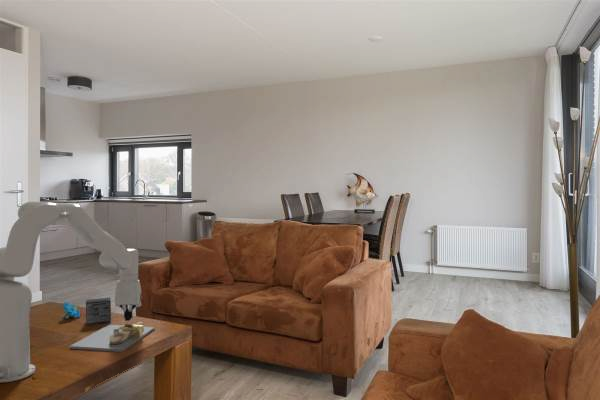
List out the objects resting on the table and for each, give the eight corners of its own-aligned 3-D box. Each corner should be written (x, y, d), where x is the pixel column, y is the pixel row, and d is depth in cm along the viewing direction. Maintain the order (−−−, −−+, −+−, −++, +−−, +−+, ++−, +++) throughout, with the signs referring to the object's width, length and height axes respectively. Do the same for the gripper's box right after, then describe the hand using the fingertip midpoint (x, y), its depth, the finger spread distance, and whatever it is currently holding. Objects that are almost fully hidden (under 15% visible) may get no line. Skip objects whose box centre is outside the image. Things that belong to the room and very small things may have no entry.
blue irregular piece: (76, 317, 201) (61, 302, 201) (66, 326, 200) (51, 311, 200) (85, 313, 212) (71, 299, 212) (76, 322, 211) (61, 308, 211)
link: (118, 344, 168) (117, 332, 168) (106, 343, 169) (106, 331, 169) (146, 328, 188) (146, 316, 188) (136, 327, 189) (136, 316, 189)
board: (121, 352, 164) (121, 349, 164) (69, 348, 167) (69, 345, 167) (154, 329, 190) (154, 327, 190) (108, 326, 193) (108, 324, 193)
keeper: (138, 338, 176) (138, 328, 176) (119, 337, 177) (119, 327, 177) (143, 335, 180) (143, 325, 180) (124, 333, 181) (124, 324, 181)
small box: (111, 318, 205) (111, 296, 205) (111, 322, 199) (110, 300, 199) (86, 321, 201) (86, 299, 201) (85, 325, 195) (85, 302, 195)
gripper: (107, 279, 180) (107, 322, 180) (143, 279, 180) (142, 322, 181) (114, 275, 188) (114, 317, 188) (149, 276, 188) (148, 317, 188)
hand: (128, 319), depth 184 cm, fingers closed
